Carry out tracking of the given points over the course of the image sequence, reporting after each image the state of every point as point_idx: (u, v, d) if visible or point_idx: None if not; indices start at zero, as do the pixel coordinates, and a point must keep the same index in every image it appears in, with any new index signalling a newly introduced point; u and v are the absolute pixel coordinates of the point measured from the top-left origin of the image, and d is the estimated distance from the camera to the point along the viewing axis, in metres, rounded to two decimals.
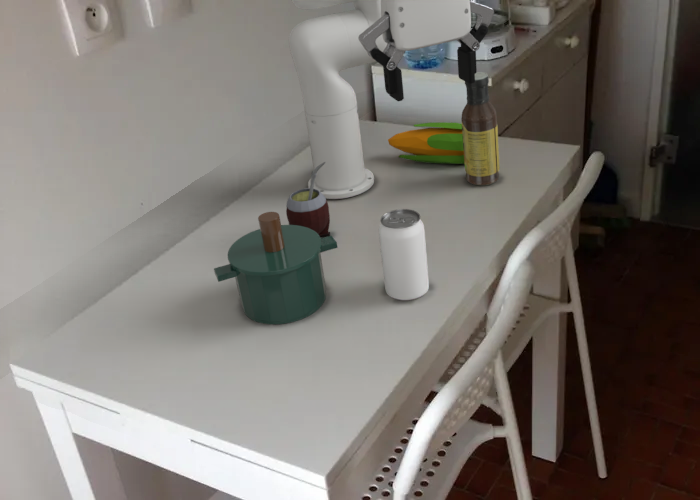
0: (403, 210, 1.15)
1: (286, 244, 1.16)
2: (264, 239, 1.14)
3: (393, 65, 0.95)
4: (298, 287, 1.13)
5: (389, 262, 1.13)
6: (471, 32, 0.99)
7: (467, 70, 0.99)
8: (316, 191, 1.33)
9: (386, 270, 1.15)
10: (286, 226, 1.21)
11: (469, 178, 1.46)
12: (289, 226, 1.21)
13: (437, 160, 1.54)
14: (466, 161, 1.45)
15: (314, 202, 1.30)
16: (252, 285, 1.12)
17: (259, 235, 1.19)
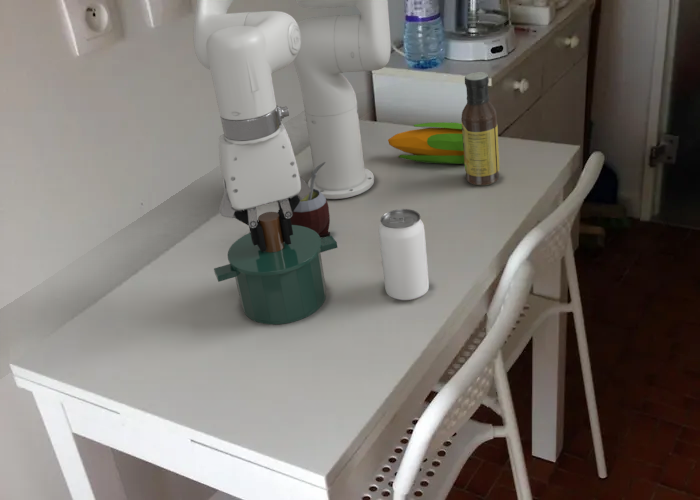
0: (403, 210, 1.15)
1: (286, 244, 1.16)
2: (264, 239, 1.14)
3: (254, 224, 1.12)
4: (298, 287, 1.13)
5: (389, 262, 1.13)
6: None
7: (283, 234, 1.14)
8: (316, 191, 1.33)
9: (386, 270, 1.15)
10: None
11: (469, 178, 1.46)
12: None
13: (437, 160, 1.54)
14: (466, 161, 1.45)
15: (314, 202, 1.30)
16: (252, 285, 1.12)
17: None
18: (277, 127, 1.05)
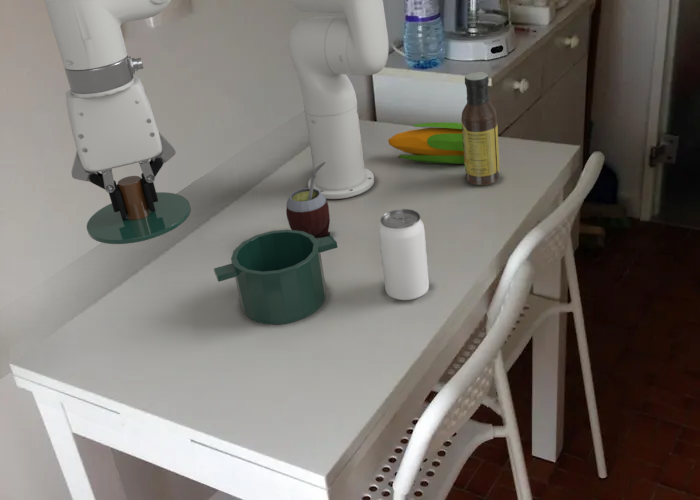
0: (403, 210, 1.15)
1: (152, 212, 1.07)
2: (125, 205, 1.04)
3: (112, 188, 1.02)
4: (298, 287, 1.13)
5: (389, 262, 1.13)
6: None
7: (146, 199, 1.05)
8: (316, 191, 1.33)
9: (386, 270, 1.15)
10: (158, 194, 1.12)
11: (469, 178, 1.46)
12: (161, 193, 1.11)
13: (437, 160, 1.54)
14: (466, 161, 1.45)
15: (314, 202, 1.30)
16: (252, 285, 1.12)
17: None
18: (128, 79, 0.96)
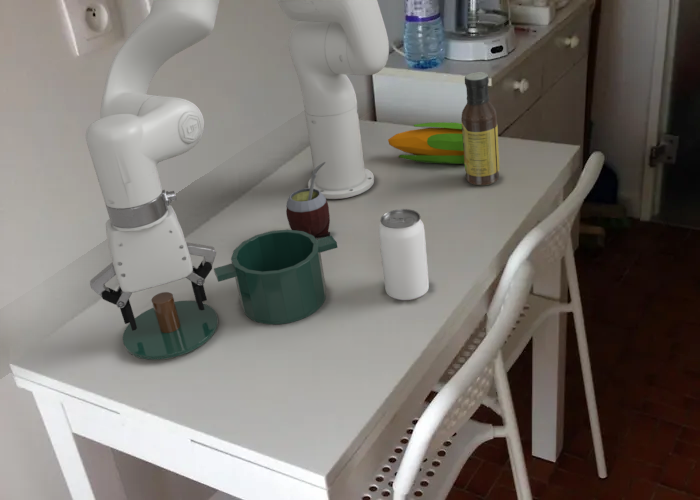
0: (403, 210, 1.15)
1: (182, 324, 1.15)
2: (158, 320, 1.13)
3: (123, 303, 1.10)
4: (298, 287, 1.13)
5: (389, 262, 1.13)
6: (199, 267, 1.13)
7: (196, 300, 1.14)
8: (316, 191, 1.33)
9: (386, 270, 1.15)
10: (186, 302, 1.20)
11: (469, 178, 1.46)
12: (189, 302, 1.20)
13: (437, 160, 1.54)
14: (466, 161, 1.45)
15: (314, 202, 1.30)
16: (252, 285, 1.12)
17: None
18: (163, 213, 1.05)
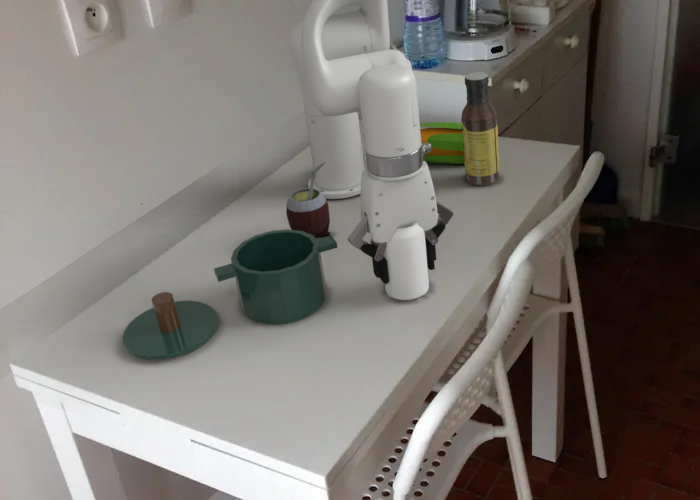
0: None
1: (182, 324, 1.15)
2: (158, 320, 1.13)
3: (380, 257, 1.13)
4: (298, 287, 1.13)
5: (389, 262, 1.13)
6: None
7: (428, 259, 1.16)
8: (316, 191, 1.33)
9: None
10: (186, 302, 1.20)
11: (469, 178, 1.46)
12: (189, 302, 1.20)
13: (437, 160, 1.54)
14: (466, 161, 1.45)
15: (314, 202, 1.30)
16: (252, 285, 1.12)
17: None
18: (421, 163, 1.07)
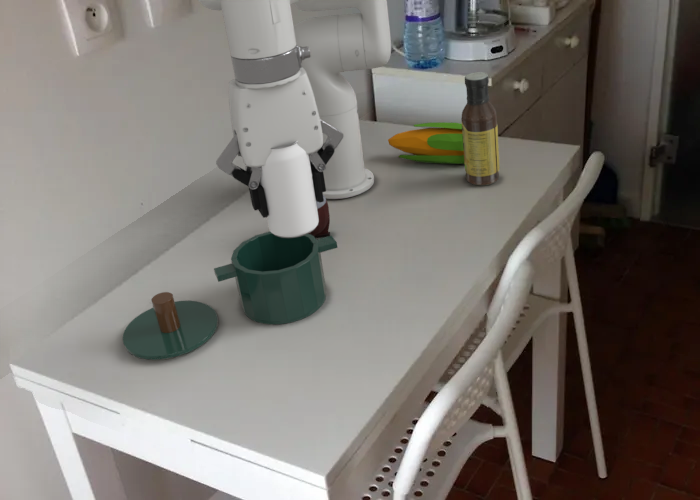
0: None
1: (182, 324, 1.15)
2: (158, 320, 1.13)
3: (255, 184, 0.96)
4: (298, 287, 1.13)
5: (267, 190, 0.97)
6: (318, 152, 0.99)
7: (315, 190, 0.99)
8: None
9: None
10: (186, 302, 1.20)
11: (469, 178, 1.46)
12: (189, 302, 1.20)
13: (437, 160, 1.54)
14: (466, 161, 1.45)
15: None
16: (252, 285, 1.12)
17: None
18: (297, 69, 0.91)
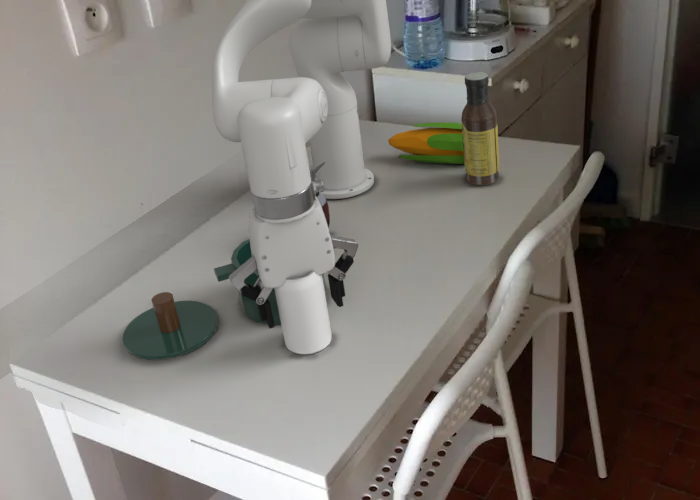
0: None
1: (182, 324, 1.15)
2: (158, 320, 1.13)
3: (262, 300, 1.03)
4: None
5: (285, 314, 1.05)
6: (338, 261, 1.07)
7: (335, 296, 1.07)
8: None
9: (283, 322, 1.06)
10: (186, 302, 1.20)
11: (469, 178, 1.46)
12: (189, 302, 1.20)
13: (437, 160, 1.54)
14: (466, 161, 1.45)
15: None
16: (252, 285, 1.12)
17: None
18: (312, 203, 0.99)
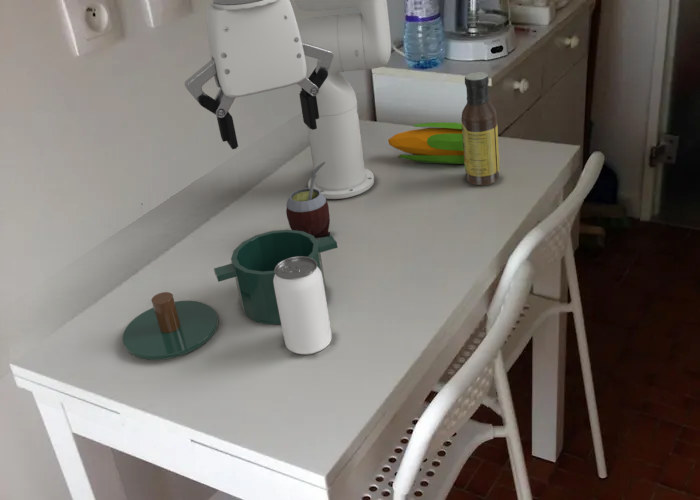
0: (301, 257, 1.07)
1: (182, 324, 1.15)
2: (158, 320, 1.13)
3: (223, 112, 0.91)
4: None
5: (285, 314, 1.05)
6: (311, 76, 0.94)
7: (308, 116, 0.95)
8: (316, 191, 1.33)
9: (283, 322, 1.06)
10: (186, 302, 1.20)
11: (469, 178, 1.46)
12: (189, 302, 1.20)
13: (437, 160, 1.54)
14: (466, 161, 1.45)
15: (314, 202, 1.30)
16: (252, 285, 1.12)
17: None
18: None
